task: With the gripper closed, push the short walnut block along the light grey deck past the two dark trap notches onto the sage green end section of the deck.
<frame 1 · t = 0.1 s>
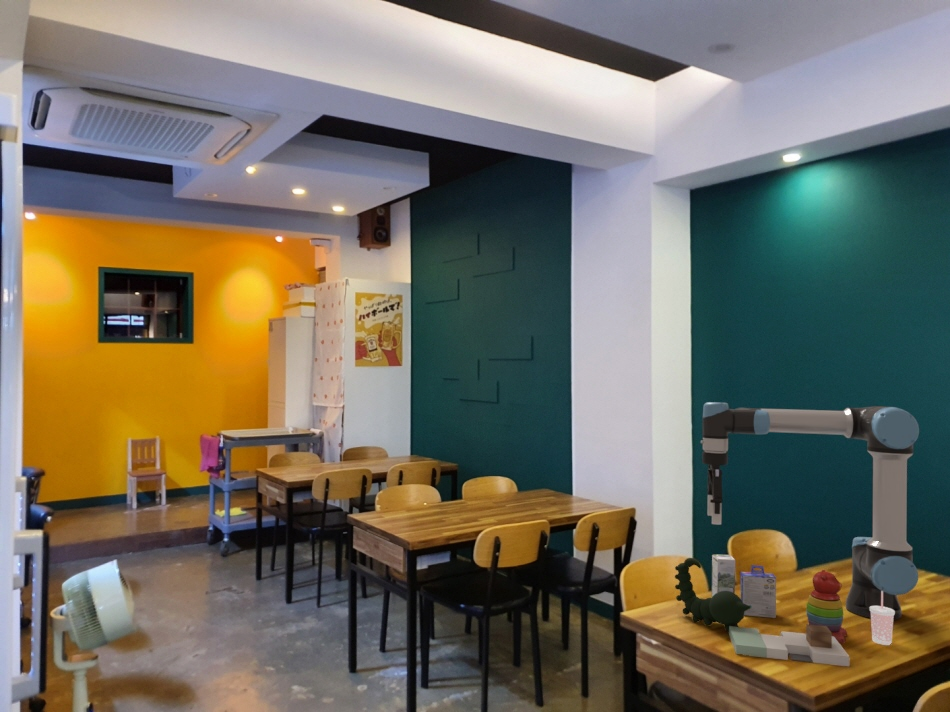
hand: (714, 519, 215), 28 cm above the table, tool pointing down, fingers open, 13 cm apart
beverage cup: (881, 642, 191), on the table
ink cartridge box: (757, 615, 212), on the table
walnut block: (818, 643, 182), point 2 cm above the table, touching trap deck
stacking bear: (825, 635, 195), on the table
toy figurine: (711, 625, 202), on the table
trap deck: (786, 649, 184), on the table
syrup box: (722, 601, 224), on the table
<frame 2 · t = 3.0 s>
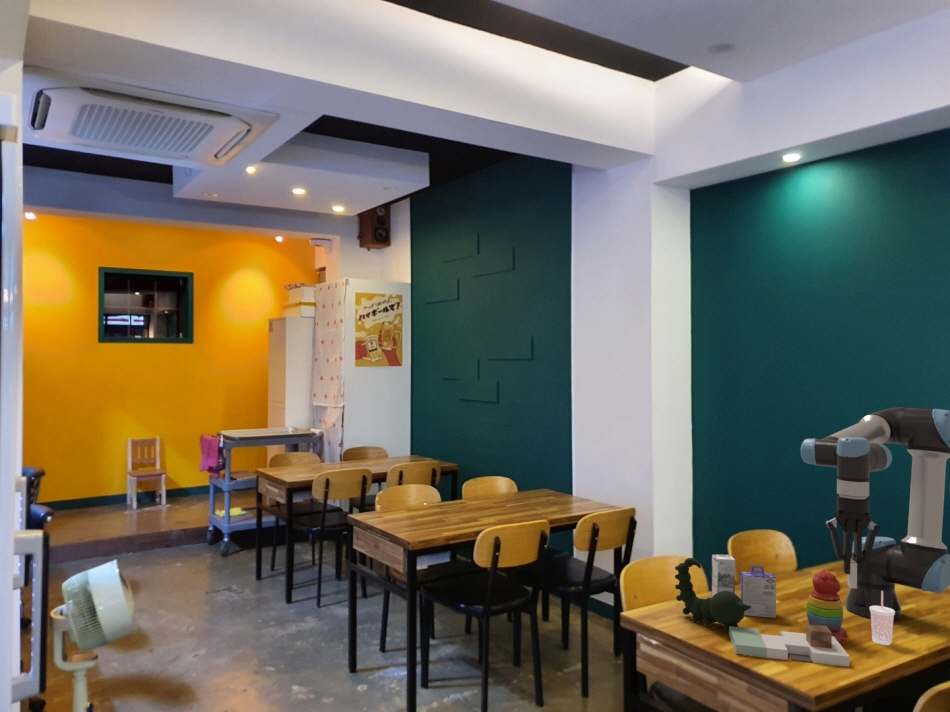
hand: (852, 586, 181), 18 cm above the table, tool pointing down, fingers closed
nothing on the table moved.
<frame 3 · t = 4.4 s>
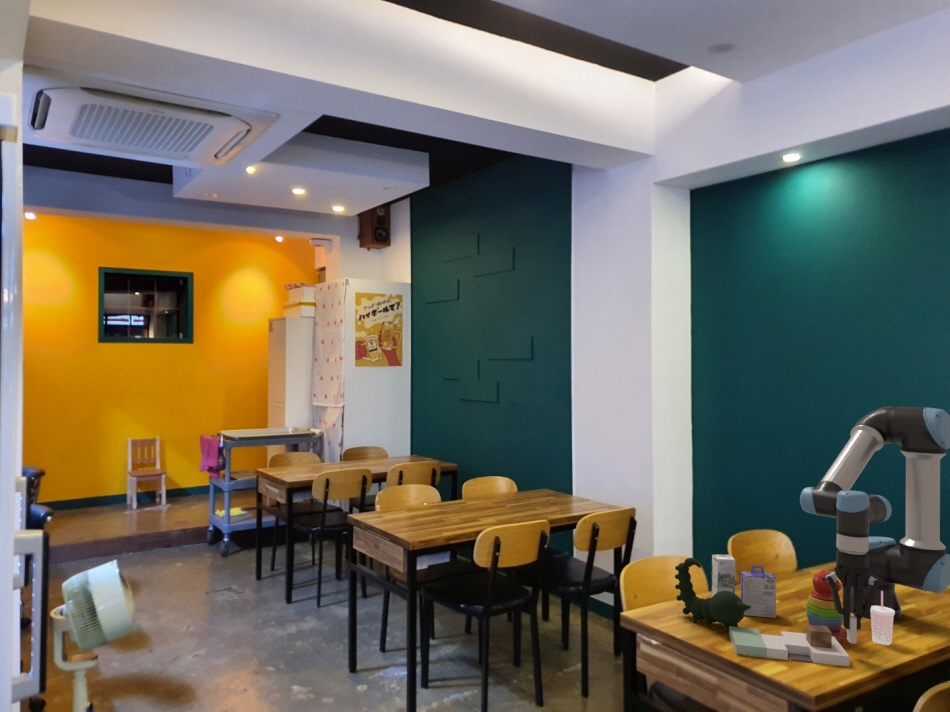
hand: (851, 641, 180), 4 cm above the table, tool pointing down, fingers closed
nothing on the table moved.
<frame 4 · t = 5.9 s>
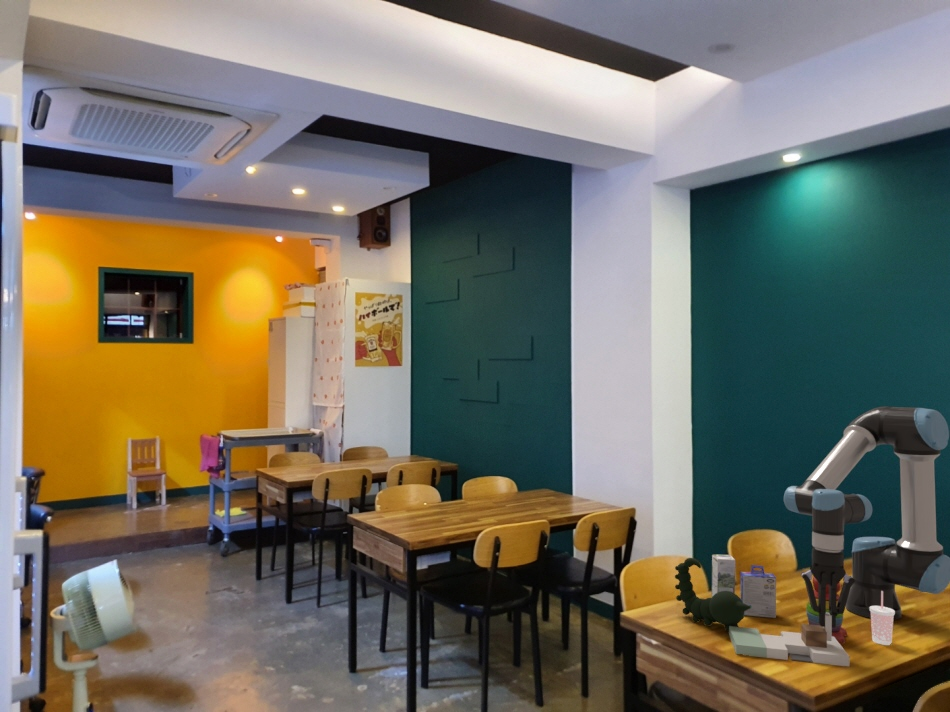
hand: (827, 638, 182), 4 cm above the table, tool pointing down, fingers closed
walnut block: (813, 643, 182), point 3 cm above the table, touching gripper
everything else where it was.
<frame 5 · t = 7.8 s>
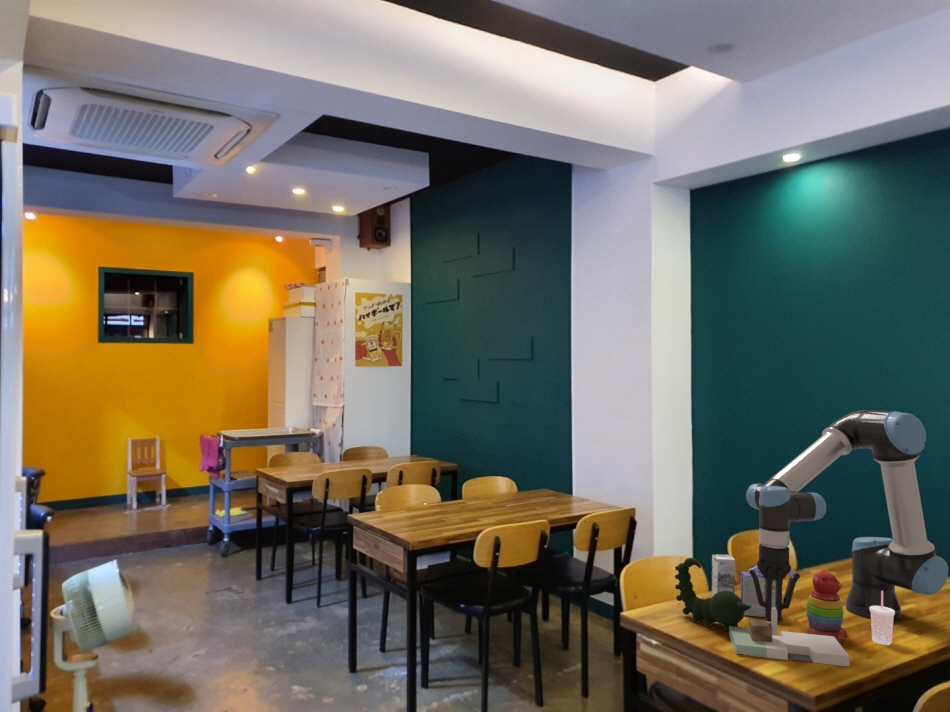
hand: (773, 633, 185), 4 cm above the table, tool pointing down, fingers closed
walnut block: (760, 638, 185), point 3 cm above the table, touching gripper, trap deck
everything else where it was.
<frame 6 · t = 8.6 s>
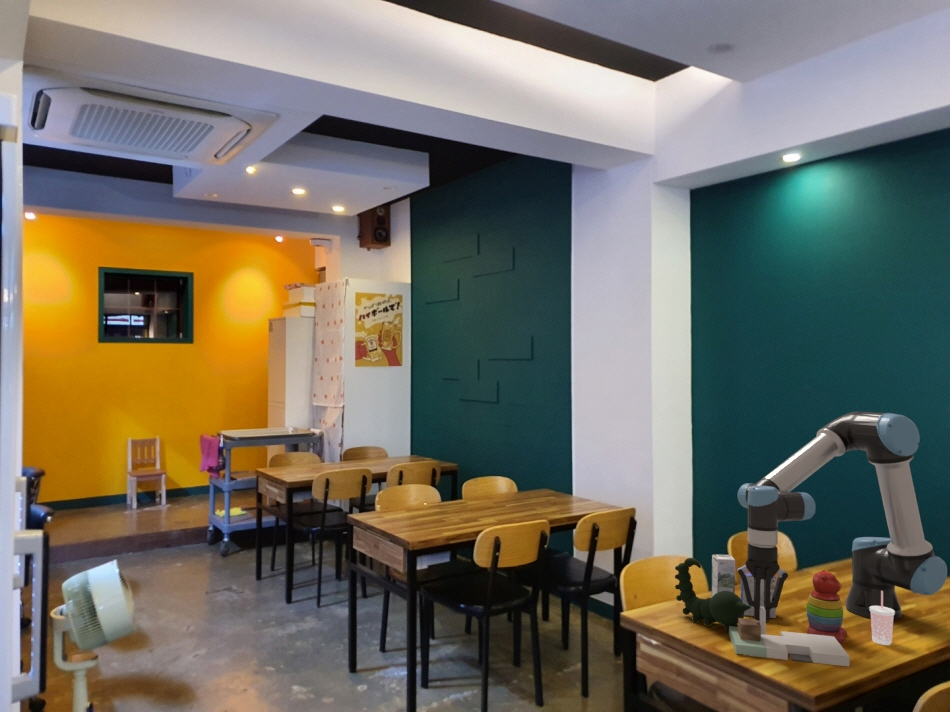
hand: (761, 632, 185), 4 cm above the table, tool pointing down, fingers closed
walnut block: (749, 636, 186), point 2 cm above the table, touching gripper, trap deck
everything else where it was.
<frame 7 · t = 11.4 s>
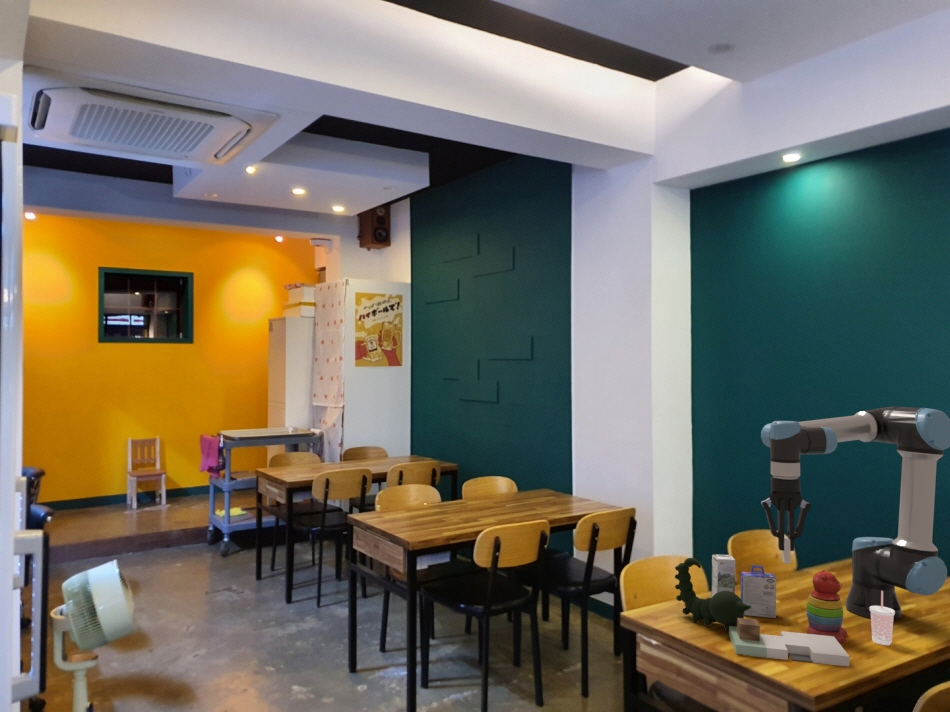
hand: (786, 562, 191), 22 cm above the table, tool pointing down, fingers closed
walnut block: (748, 636, 186), point 2 cm above the table, touching trap deck
everything else where it was.
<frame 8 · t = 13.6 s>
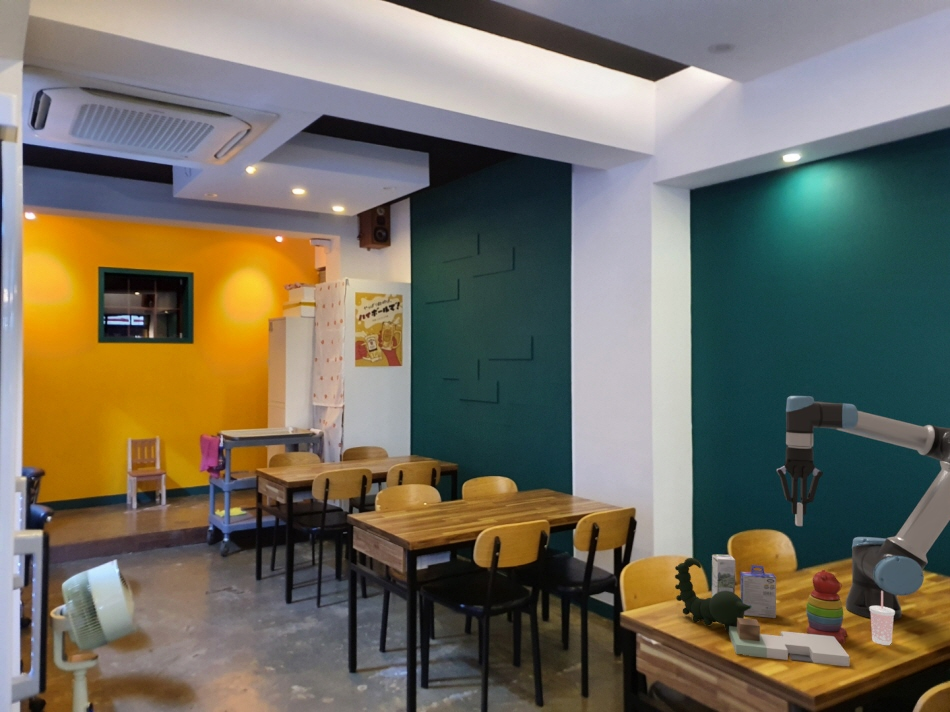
hand: (798, 525, 208), 28 cm above the table, tool pointing down, fingers closed
nothing on the table moved.
at the end: walnut block 0.1 cm from the target spot on the trap deck, point 2.5 cm above the trap deck's base; walnut block tilted 0°; walnut block touching trap deck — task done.
